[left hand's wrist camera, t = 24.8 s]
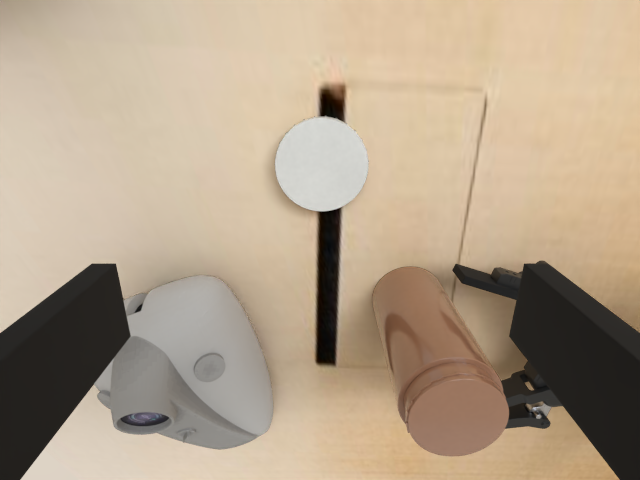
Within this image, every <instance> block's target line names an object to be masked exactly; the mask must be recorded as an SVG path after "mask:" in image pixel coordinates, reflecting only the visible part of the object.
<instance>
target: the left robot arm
mask: <svg viewBox="0 0 640 480" xmlns="http://www.w3.org/2000/svg"><path fill="white" fill-rule="evenodd" d="M130 337H131V335H130V330H129V325H128V320H127V316H126V311H125V306H124V301H123V296H122V291H121V287H120V282H119V277H118V272H117V267H116V264H91V265H90V266H88V267H87V268H86V269H84V270H83V271H82V272H80V273H79V274H78V275H76V276H75V277H74V278H73V279H71V280H70V281H69V282H67V283H66V284H65V285H63V286H62V287H61V288H59V289H58V290H57V291H55V292H54V293H53V294H51V295H50V296H49V297H47V298H46V299H45V300H44V301H42V302H41V303H40V304H38V305H37V306H36V307H34V308H33V309H32V310H30V311H29V312H28V313H26V314H25V315H24V316H22V317H21V318H20V319H18V320H17V321H16V322H15V323H13V324H12V325H11V326H9V327H8V328H7V329H5V330H4V331H3V332H1V333H0V480H20V479H21V478H22V477H23V475H24V474H25V473H26V471H27V470H28V469H29V468H30V466H31V465H32V464H33V462H34V461H35V460H36V458H37V457H38V456H39V455H40V453H41V452H42V451H43V449H44V448H45V447H46V446H47V444H48V443H49V442H50V440H51V439H52V438H53V436H54V435H55V434H56V433H57V431H58V430H59V429H60V427H61V426H62V425H63V423H64V422H65V421H66V420H67V418H68V417H69V416H70V414H71V413H72V412H73V411H74V409H75V408H76V407H77V405H78V404H79V403H80V401H81V400H82V399H83V398H84V396H85V395H86V394H87V392H88V391H89V390H90V388H91V387H92V386H93V385H94V383H95V382H96V381H97V379H98V378H99V377H100V375H101V374H102V373H103V372H104V370H105V369H106V368H107V366H108V365H109V364H110V363H111V361H112V360H113V359H114V357H115V356H116V355H117V353H118V352H119V351H120V350H121V348H122V347H123V346H124V344H125V343H126V342H127V340H128V339H129V338H130ZM509 337H510V338H511V339H512V340H513V342H514V343H515V344H516V346H517V347H518V348H519V350H520V351H521V352H522V353H523V355H524V356H525V357H526V359H527V360H528V361H529V363H530V364H531V365H532V366H533V368H534V369H535V370H536V372H537V373H538V374H539V375H540V377H541V378H542V379H543V381H544V382H545V383H546V385H547V386H548V387H549V388H550V390H551V391H552V392H553V394H554V395H555V396H556V398H557V399H558V400H559V401H560V403H561V404H562V405H563V407H564V408H565V409H566V411H567V412H568V413H569V414H570V416H571V417H572V418H573V420H574V421H575V422H576V423H577V425H578V426H579V427H580V429H581V430H582V431H583V433H584V434H585V435H586V436H587V438H588V439H589V440H590V442H591V443H592V444H593V446H594V447H595V448H596V449H597V451H598V452H599V453H600V455H601V456H602V457H603V458H604V460H605V461H606V462H607V464H608V465H609V466H610V468H611V469H612V470H613V471H614V473H615V474H616V475H617V477H618V478H619V479H620V480H640V333H639V332H637V331H636V330H635V329H633V328H632V327H631V326H629V325H628V324H627V323H625V322H624V321H623V320H622V319H620V318H619V317H618V316H616V315H615V314H614V313H612V312H611V311H610V310H608V309H607V308H606V307H604V306H603V305H602V304H600V303H599V302H598V301H596V300H595V299H594V298H593V297H591V296H590V295H589V294H587V293H586V292H585V291H583V290H582V289H581V288H579V287H578V286H577V285H575V284H574V283H573V282H571V281H570V280H569V279H567V278H566V277H565V276H564V275H562V274H561V273H560V272H558V271H557V270H556V269H554V268H553V267H552V266H550V265H549V264H524V267H523V272H522V277H521V282H520V287H519V291H518V296H517V301H516V306H515V311H514V316H513V320H512V325H511V330H510V335H509Z"/></svg>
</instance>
